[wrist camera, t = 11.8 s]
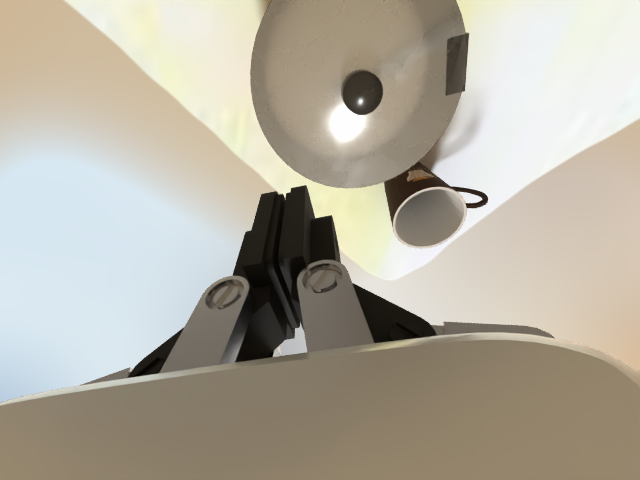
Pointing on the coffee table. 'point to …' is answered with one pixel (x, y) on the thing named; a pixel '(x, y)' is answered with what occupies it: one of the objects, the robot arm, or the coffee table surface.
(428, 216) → the coffee mug
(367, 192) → the coffee table surface
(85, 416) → the robot arm
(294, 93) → the cooker lid
